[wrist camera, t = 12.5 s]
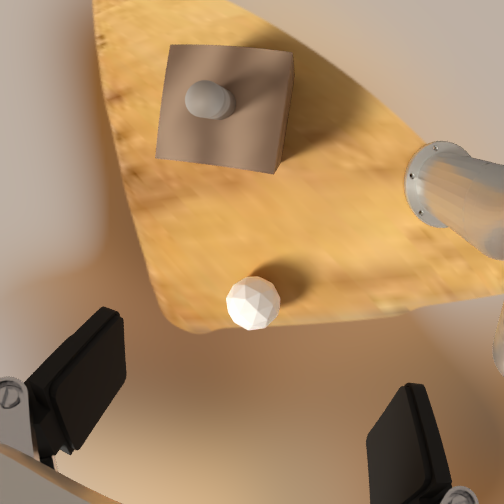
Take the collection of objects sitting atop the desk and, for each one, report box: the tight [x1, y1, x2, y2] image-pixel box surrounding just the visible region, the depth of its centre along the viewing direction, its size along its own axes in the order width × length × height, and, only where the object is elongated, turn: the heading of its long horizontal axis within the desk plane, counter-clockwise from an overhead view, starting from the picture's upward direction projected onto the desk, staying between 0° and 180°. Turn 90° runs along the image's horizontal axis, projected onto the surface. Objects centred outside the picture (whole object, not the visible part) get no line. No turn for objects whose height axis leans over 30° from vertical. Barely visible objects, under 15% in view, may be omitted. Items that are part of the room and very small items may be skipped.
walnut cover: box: [155, 45, 294, 174], centre depth 32 cm, size 12×12×18 cm
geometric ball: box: [226, 276, 280, 330], centre depth 47 cm, size 8×8×8 cm
